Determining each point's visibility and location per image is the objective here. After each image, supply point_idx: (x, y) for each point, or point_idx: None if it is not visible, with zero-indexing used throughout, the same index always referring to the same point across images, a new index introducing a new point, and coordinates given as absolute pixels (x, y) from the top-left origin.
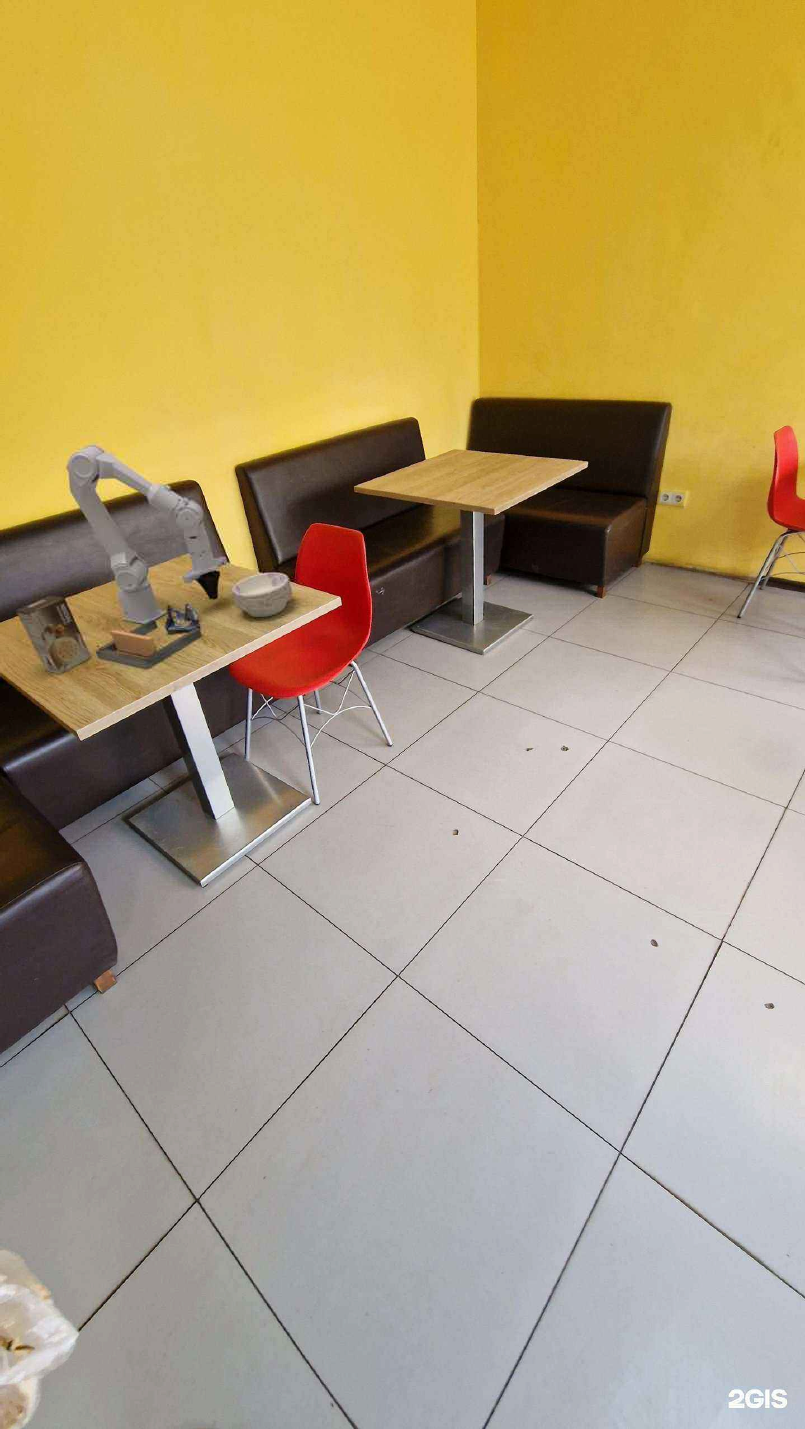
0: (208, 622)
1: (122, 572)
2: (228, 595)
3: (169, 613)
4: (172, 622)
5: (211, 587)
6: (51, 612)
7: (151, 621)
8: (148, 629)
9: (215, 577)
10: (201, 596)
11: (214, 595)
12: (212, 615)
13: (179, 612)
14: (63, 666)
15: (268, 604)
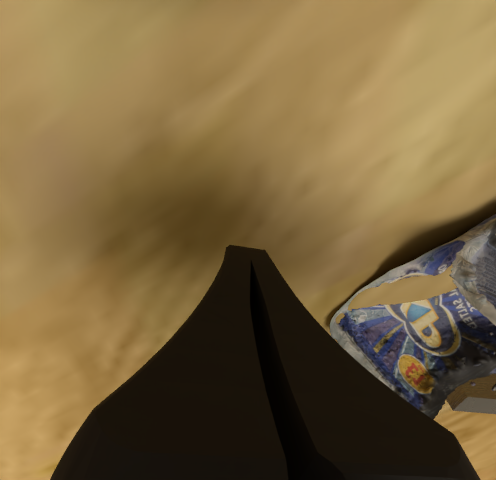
0: (462, 160)
1: None
2: (49, 258)
3: (440, 383)
4: (479, 332)
5: (316, 329)
6: None
7: (473, 403)
8: (494, 380)
9: (257, 417)
10: (120, 370)
11: (272, 265)
12: (349, 195)
13: (374, 358)
14: None
15: None
